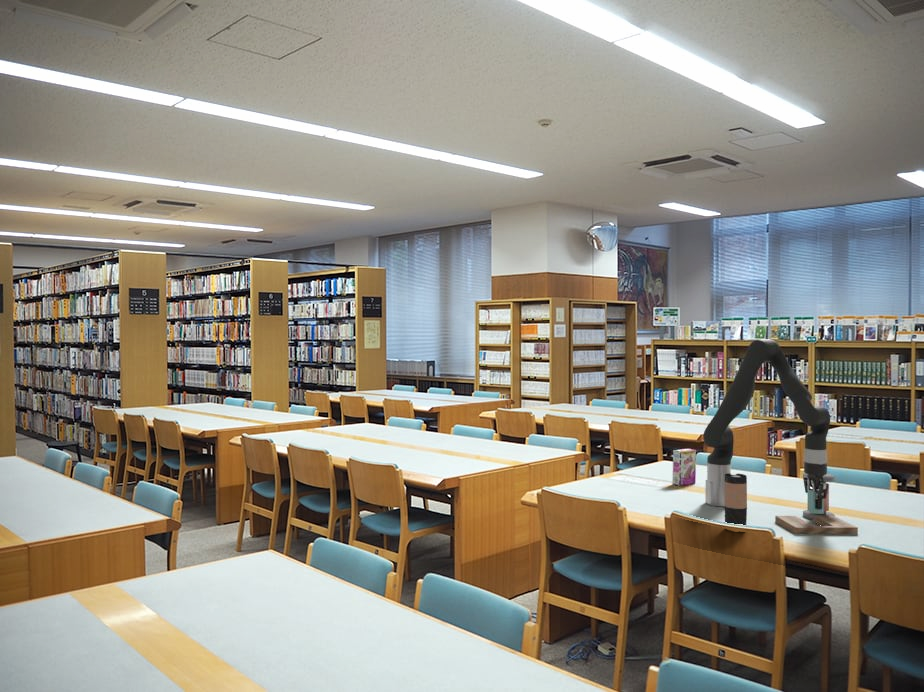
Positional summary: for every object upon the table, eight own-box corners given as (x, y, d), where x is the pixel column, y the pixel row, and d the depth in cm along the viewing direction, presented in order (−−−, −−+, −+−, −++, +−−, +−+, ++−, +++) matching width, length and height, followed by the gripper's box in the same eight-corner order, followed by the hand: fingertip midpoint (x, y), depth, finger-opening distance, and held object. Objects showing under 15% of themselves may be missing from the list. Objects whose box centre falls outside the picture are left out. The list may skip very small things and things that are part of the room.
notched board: (795, 534, 243) (795, 527, 243) (775, 522, 259) (775, 515, 259) (857, 534, 243) (857, 527, 243) (833, 522, 259) (833, 515, 259)
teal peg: (813, 513, 249) (813, 491, 248) (807, 510, 253) (807, 489, 252) (824, 513, 249) (824, 491, 248) (818, 510, 253) (818, 489, 252)
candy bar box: (680, 486, 321) (680, 451, 320) (672, 484, 325) (672, 450, 325) (696, 483, 327) (696, 449, 326) (688, 481, 331) (688, 448, 331)
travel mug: (739, 534, 243) (739, 478, 243) (720, 529, 250) (720, 474, 249) (751, 530, 248) (751, 475, 248) (732, 525, 254) (732, 472, 254)
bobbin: (811, 521, 260) (811, 478, 260) (797, 513, 271) (797, 472, 271) (840, 521, 260) (840, 478, 260) (825, 513, 271) (825, 472, 271)
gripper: (795, 457, 257) (795, 503, 258) (815, 464, 243) (815, 512, 243) (815, 457, 257) (815, 503, 258) (836, 464, 243) (836, 512, 243)
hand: (815, 507), depth 251 cm, fingers closed on teal peg, 4 cm apart
